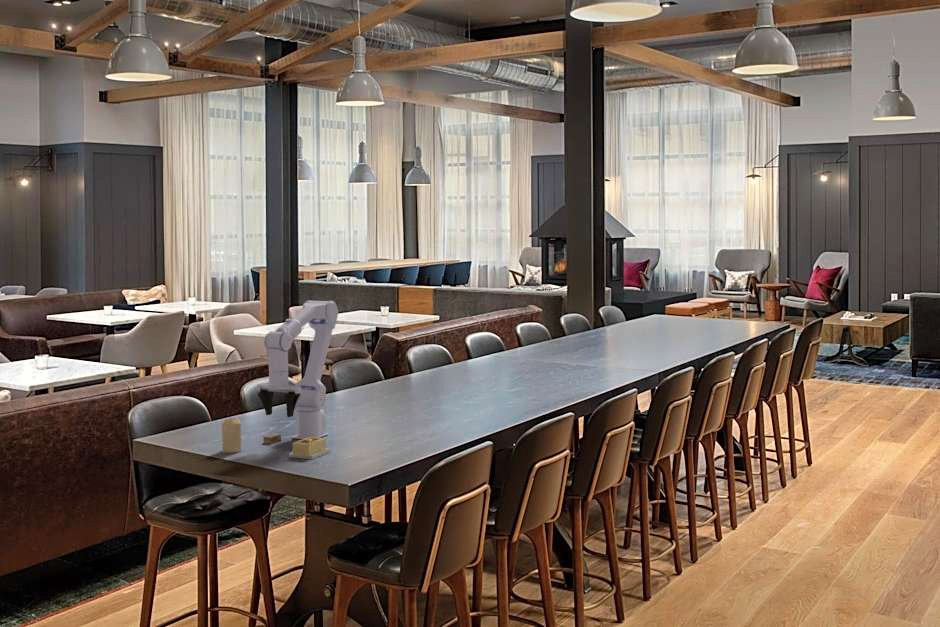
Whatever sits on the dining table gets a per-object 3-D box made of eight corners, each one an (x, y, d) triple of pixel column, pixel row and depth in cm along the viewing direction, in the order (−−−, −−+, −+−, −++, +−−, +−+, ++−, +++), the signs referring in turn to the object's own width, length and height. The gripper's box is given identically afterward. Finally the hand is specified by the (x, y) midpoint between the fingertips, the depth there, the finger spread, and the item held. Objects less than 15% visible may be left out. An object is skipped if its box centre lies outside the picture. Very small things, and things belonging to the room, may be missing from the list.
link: (309, 447, 303) (309, 436, 303) (325, 448, 301) (325, 438, 301) (292, 453, 295) (292, 442, 295) (309, 455, 293) (308, 444, 293)
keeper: (307, 449, 305) (307, 434, 304) (330, 452, 302) (330, 437, 301) (288, 456, 296) (288, 441, 295) (312, 459, 292) (311, 444, 292)
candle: (243, 448, 306) (242, 416, 305) (239, 452, 301) (238, 419, 300) (224, 448, 306) (223, 416, 305) (220, 453, 301) (220, 419, 300)
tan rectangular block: (272, 439, 319) (272, 433, 318) (280, 440, 317) (280, 434, 317) (263, 443, 314) (263, 436, 314) (271, 443, 313) (271, 437, 313)
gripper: (250, 371, 304) (251, 416, 306) (291, 374, 299) (292, 419, 300) (264, 368, 311) (265, 412, 312) (304, 371, 305) (305, 415, 306)
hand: (279, 415), depth 306 cm, fingers open, 7 cm apart
